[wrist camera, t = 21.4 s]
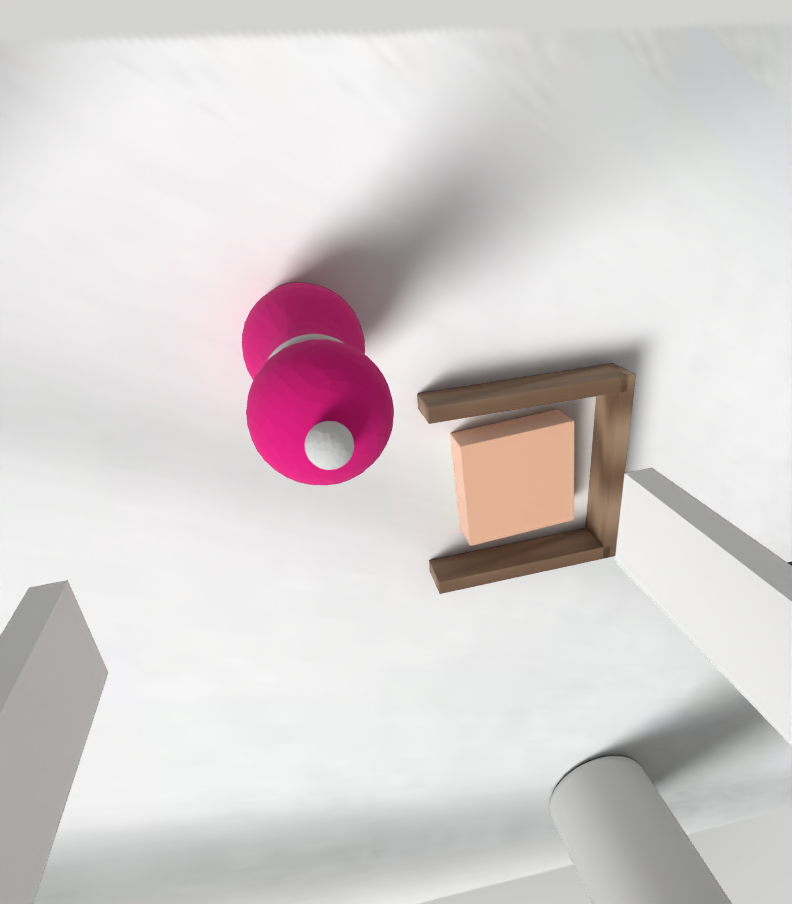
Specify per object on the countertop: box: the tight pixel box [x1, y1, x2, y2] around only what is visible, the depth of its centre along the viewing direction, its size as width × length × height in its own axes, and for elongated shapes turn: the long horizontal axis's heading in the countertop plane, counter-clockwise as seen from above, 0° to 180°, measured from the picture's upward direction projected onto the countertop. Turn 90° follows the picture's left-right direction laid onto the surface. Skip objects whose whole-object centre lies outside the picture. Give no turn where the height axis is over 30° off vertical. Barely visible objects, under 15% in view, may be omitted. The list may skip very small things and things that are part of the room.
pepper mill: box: [242, 282, 394, 485], centre depth 28 cm, size 7×7×20 cm
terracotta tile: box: [450, 409, 574, 546], centre depth 44 cm, size 9×9×3 cm
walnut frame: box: [417, 363, 636, 594], centre depth 44 cm, size 16×16×3 cm
